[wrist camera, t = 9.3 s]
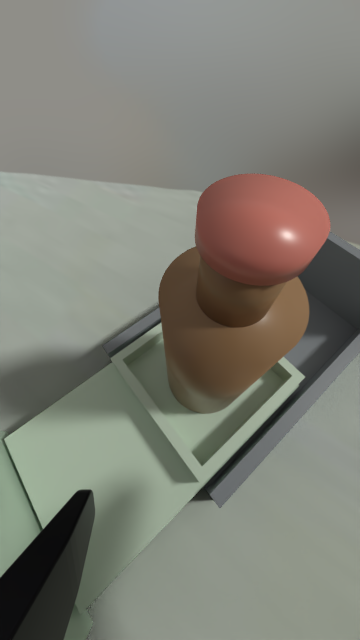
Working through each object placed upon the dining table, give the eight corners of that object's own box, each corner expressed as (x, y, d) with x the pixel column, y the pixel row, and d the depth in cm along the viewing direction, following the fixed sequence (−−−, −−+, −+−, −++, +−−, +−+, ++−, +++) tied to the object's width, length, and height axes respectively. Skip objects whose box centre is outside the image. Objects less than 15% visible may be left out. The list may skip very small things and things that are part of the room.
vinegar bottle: (226, 427, 16) (377, 353, 4) (155, 393, 17) (103, 252, 5) (249, 357, 18) (387, 179, 6) (185, 331, 19) (199, 135, 7)
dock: (213, 500, 15) (233, 525, 10) (110, 357, 20) (86, 323, 14) (366, 333, 21) (429, 294, 16) (259, 252, 25) (281, 200, 20)
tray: (69, 649, 12) (3, 771, 7) (-12, 445, 16) (-87, 442, 12) (301, 399, 18) (343, 381, 13) (197, 298, 22) (202, 258, 17)
